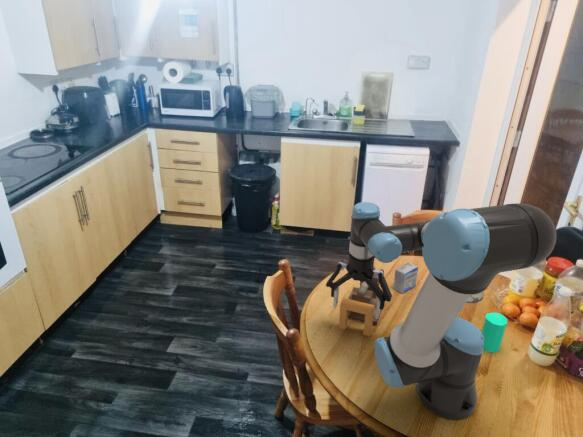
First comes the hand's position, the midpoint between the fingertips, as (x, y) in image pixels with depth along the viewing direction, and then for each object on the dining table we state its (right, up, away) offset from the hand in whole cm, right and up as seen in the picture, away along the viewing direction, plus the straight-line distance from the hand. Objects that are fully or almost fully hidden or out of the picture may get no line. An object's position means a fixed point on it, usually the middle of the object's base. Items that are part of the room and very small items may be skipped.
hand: (356, 310), depth 135 cm
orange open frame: (0, -7, +3) cm, 7 cm away
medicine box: (+21, +3, +24) cm, 32 cm away
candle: (+40, -10, -4) cm, 42 cm away
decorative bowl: (+42, +2, +22) cm, 48 cm away
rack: (+5, -2, +13) cm, 14 cm away
